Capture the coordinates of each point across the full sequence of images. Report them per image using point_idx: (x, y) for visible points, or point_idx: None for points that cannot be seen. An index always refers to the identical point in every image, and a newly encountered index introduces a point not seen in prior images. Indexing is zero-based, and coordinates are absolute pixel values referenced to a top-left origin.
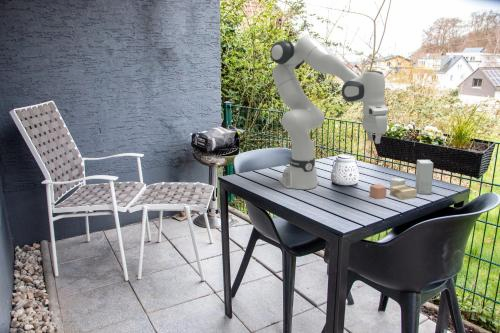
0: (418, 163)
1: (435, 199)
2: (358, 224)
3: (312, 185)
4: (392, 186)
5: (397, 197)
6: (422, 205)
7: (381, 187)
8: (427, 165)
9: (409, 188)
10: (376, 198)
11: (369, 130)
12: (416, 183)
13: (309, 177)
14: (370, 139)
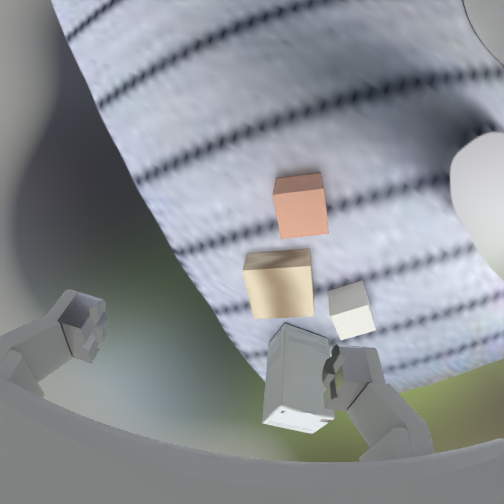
0: (309, 406)
1: (229, 328)
2: (75, 28)
3: (477, 19)
4: (353, 291)
5: (270, 252)
6: (187, 273)
7: (284, 218)
8: (269, 408)
9: (272, 308)
10: (279, 178)
11: (194, 460)
12: (311, 349)
13: (497, 4)
14: (334, 368)
